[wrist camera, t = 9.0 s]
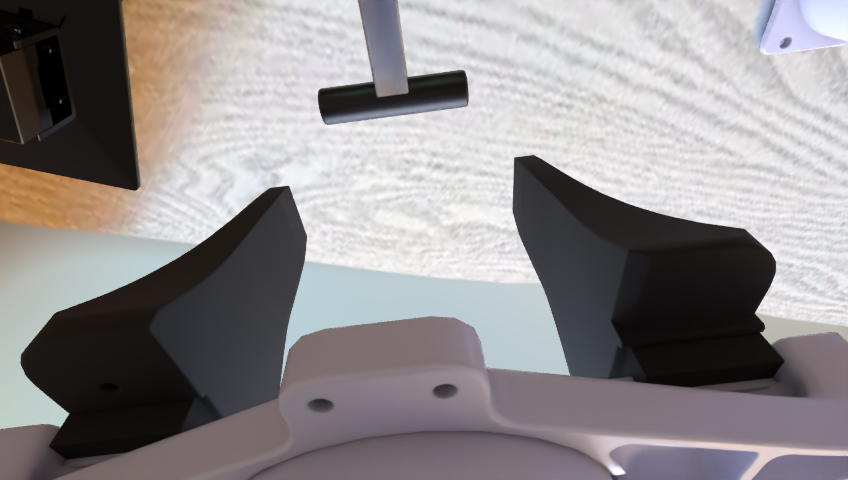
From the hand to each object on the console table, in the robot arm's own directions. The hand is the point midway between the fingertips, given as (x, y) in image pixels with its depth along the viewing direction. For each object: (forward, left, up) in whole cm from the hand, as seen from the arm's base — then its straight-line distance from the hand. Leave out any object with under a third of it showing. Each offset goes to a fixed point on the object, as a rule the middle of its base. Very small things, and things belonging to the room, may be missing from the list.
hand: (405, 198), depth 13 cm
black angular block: (+16, -4, -10) cm, 19 cm away
